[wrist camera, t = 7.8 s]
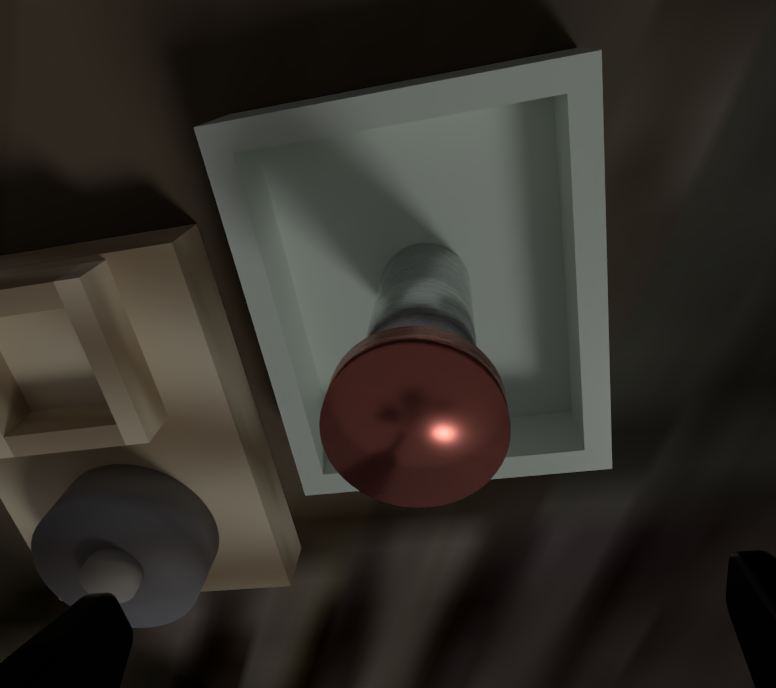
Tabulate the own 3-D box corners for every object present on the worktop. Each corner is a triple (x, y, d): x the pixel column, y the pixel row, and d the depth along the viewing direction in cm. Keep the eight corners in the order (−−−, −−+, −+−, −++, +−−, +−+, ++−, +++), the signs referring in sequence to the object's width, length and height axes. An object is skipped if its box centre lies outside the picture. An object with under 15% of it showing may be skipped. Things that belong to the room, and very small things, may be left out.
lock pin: (492, 332, 20) (518, 499, 13) (377, 346, 20) (340, 514, 13) (479, 217, 18) (500, 336, 11) (354, 236, 19) (299, 361, 12)
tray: (592, 418, 22) (611, 468, 19) (320, 446, 23) (305, 495, 21) (577, 47, 16) (601, 50, 14) (228, 114, 18) (193, 127, 16)
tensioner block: (301, 547, 26) (274, 644, 22) (85, 563, 27) (21, 657, 23) (196, 223, 20) (131, 273, 16) (-74, 267, 21) (-198, 324, 17)
